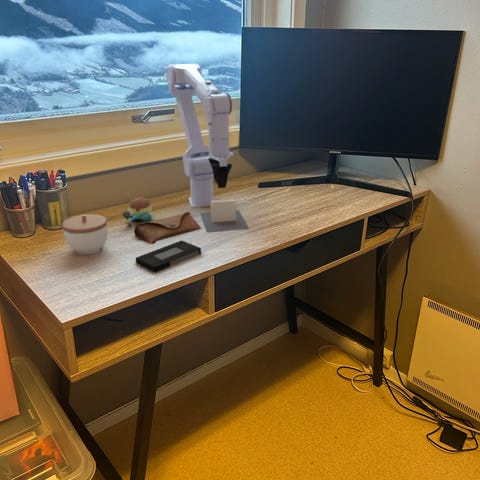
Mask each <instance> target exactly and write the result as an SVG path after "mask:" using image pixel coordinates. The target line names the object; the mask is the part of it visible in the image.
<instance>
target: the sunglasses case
mask: <svg viewBox="0 0 480 480" xmlns="http://www.w3.org/2000/svg"><path fill="white" fill-rule="evenodd" d="M198 230H202V227H201V226H200V224H199V223H198V222H197V221H196V220H195V219H194V217H193V216H192V215H191V212H189V211H186V212H184V213H182V214H178V215H173V216H168V217H164V218H161V219H157V220H152V221H150V222H149V221H148V222H142V223H138V224H137V225H136V226H135V227H134V235H135V236H134V237H136V238H137V239H139V240H141V241H142V242H144V243H146V244H148V245H153V244H156V243H157V242H159V241H161V240H164V239H168V238H171V237H175V236H179V235H182V234H186V233H189V232H193V231H198Z"/></svg>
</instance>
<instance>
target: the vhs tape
mask: <svg viewBox="0 0 480 480" xmlns="http://www.w3.org/2000/svg"><path fill="white" fill-rule="evenodd" d="M201 254H202V249H201V247H199V246H196V245H194V244H192V243H190V242H187V241H184V240H179V241H176V242H173V243H171V244H169V245H165V246H164V247H163V246H162V247H160V248H158V249H155V250H152V251H150V252H148V253H144V254H141V255H139V256H137V257H135V264H137V265H138V266H140V267H142V268H145V269H147V270H148V271H150V272H152V273H154V274H156V273H159V272H160V271H163V270H167V269H168V268H171V267H172V266H175V265H177V264H180V263H182V262H184V261H186V260H189V259H192V258H194V257H196V256H199V255H201Z"/></svg>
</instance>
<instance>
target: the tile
mask: <svg viewBox="0 0 480 480" xmlns="http://www.w3.org/2000/svg"><path fill="white" fill-rule="evenodd" d="M236 206H237V204H236V199H235V198H232V199H219V200H218V199H216V200H214V201H211V206H210V212H211V221H212V222H223V221H236V210H237V209H236V208H237V207H236Z"/></svg>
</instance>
